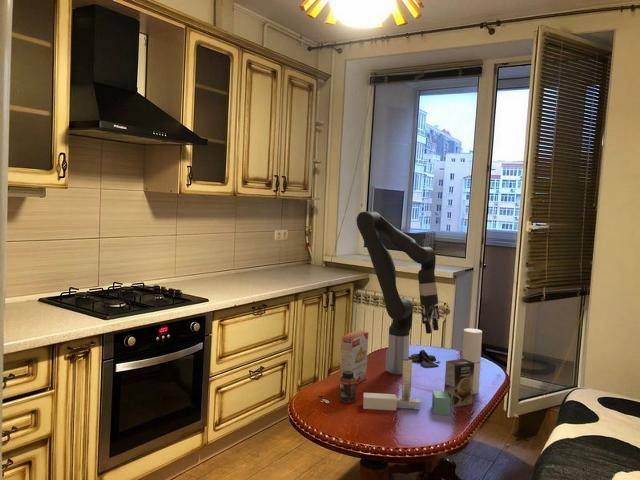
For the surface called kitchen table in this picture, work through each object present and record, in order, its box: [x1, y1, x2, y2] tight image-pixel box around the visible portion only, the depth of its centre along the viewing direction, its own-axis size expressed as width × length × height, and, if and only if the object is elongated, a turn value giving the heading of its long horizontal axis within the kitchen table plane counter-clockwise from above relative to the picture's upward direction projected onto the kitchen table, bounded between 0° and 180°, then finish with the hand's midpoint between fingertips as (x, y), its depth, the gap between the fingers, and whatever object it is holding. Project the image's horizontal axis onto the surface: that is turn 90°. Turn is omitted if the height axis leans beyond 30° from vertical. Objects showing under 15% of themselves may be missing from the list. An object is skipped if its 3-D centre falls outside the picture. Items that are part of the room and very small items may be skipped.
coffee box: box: [443, 358, 474, 408], centre depth 197 cm, size 9×6×16 cm
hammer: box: [396, 359, 421, 409], centre depth 190 cm, size 20×3×17 cm, turn 86°
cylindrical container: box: [461, 327, 483, 395], centre depth 210 cm, size 7×7×25 cm
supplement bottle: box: [339, 370, 357, 404], centre depth 195 cm, size 6×6×11 cm
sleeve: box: [362, 392, 398, 411], centre depth 191 cm, size 12×5×4 cm, turn 86°
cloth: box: [408, 349, 441, 369], centre depth 250 cm, size 22×19×6 cm
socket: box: [431, 390, 451, 416], centre depth 189 cm, size 5×7×6 cm
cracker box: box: [338, 329, 369, 386], centre depth 215 cm, size 14×6×21 cm, turn 148°
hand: (432, 331), depth 219 cm, fingers open, 8 cm apart
